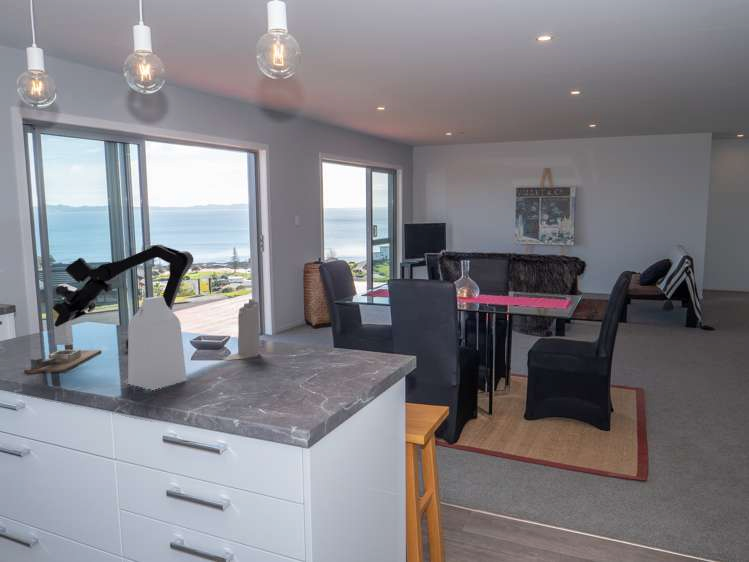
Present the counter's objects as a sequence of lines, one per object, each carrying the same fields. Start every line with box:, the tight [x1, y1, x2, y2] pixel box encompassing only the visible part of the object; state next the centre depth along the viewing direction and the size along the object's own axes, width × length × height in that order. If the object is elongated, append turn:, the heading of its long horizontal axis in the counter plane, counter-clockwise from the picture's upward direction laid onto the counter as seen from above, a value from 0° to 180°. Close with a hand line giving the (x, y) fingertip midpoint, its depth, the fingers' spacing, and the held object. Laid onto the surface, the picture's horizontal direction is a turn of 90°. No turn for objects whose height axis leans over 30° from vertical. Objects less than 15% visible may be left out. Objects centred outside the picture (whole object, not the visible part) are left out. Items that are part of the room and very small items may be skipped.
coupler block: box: [52, 306, 74, 346], centre depth 194 cm, size 4×4×13 cm
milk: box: [127, 295, 187, 391], centre depth 171 cm, size 12×12×26 cm
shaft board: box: [23, 342, 102, 374], centre depth 196 cm, size 13×26×4 cm, turn 2°
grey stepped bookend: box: [221, 298, 261, 361], centre depth 202 cm, size 7×14×20 cm, turn 131°
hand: (58, 324), depth 194 cm, fingers closed on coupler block, 4 cm apart
